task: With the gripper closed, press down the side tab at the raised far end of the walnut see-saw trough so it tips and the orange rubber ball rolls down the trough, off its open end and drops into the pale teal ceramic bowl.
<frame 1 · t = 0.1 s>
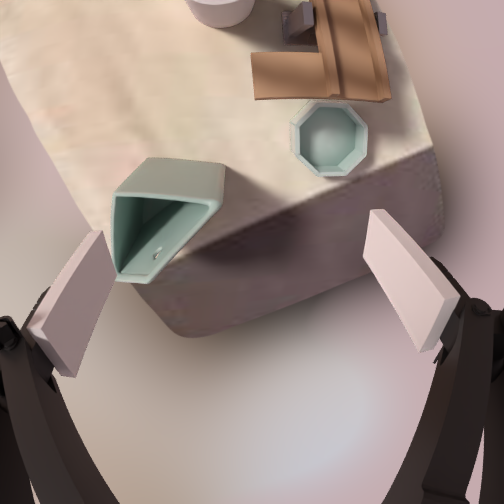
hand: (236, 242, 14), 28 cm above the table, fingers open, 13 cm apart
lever: (313, 12, 21), point 9 cm above the table, hinge at -18.0°, touching ball
planter: (164, 178, 40), on the table
bowl: (324, 135, 38), on the table
pale pink cylinder: (222, 2, 27), on the table
fulcrum: (321, 30, 29), on the table
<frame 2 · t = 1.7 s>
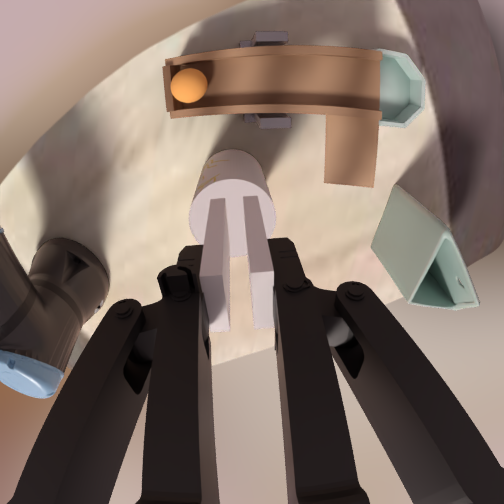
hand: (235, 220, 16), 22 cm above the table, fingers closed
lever: (271, 115, 25), point 9 cm above the table, hinge at -18.0°, touching ball
planter: (390, 235, 44), on the table
ball: (188, 85, 24), point 8 cm above the table, tilted 17°, touching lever
bowl: (380, 86, 31), on the table
pale pink cylinder: (232, 178, 37), on the table
fulcrum: (263, 80, 30), on the table
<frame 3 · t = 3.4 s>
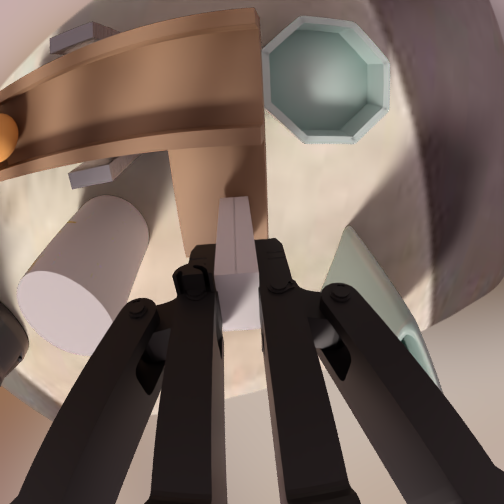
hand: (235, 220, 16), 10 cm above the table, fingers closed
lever: (88, 163, 14), point 9 cm above the table, hinge at -11.6°, touching ball, gripper
planter: (344, 290, 34), on the table
bowl: (316, 79, 21), on the table
pale pink cylinder: (111, 232, 27), on the table
fulcrum: (129, 95, 20), on the table
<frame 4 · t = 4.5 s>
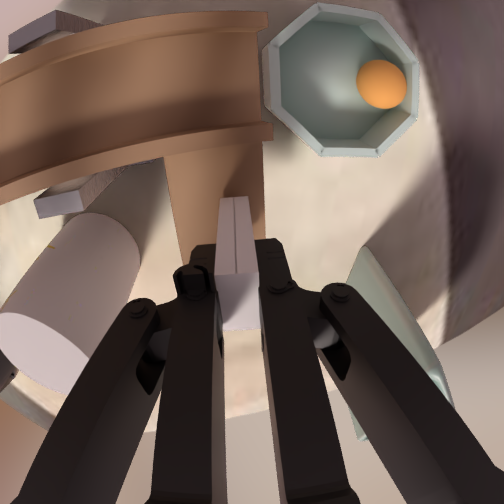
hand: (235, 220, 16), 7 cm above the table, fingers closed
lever: (64, 185, 11), point 9 cm above the table, hinge at 16.4°, touching gripper
planter: (355, 313, 30), on the table
ball: (381, 84, 15), point 2 cm above the table, tilted 169°, touching bowl
bowl: (333, 79, 17), on the table
pale pink cylinder: (99, 252, 24), on the table
fulcrum: (113, 98, 17), on the table
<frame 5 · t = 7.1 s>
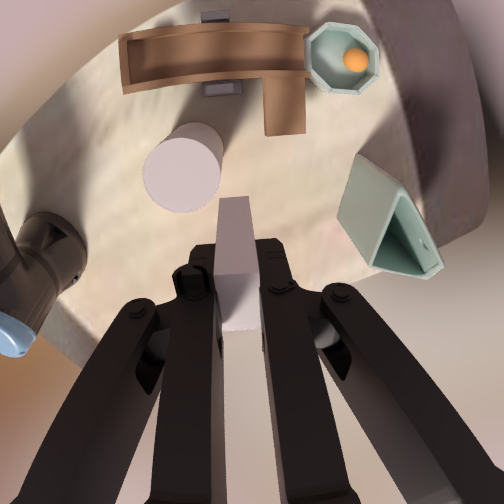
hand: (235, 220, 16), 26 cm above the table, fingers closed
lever: (222, 82, 26), point 9 cm above the table, hinge at 16.4°
planter: (356, 206, 45), on the table
ball: (355, 60, 30), point 2 cm above the table, tilted 151°, touching bowl
bowl: (335, 59, 32), on the table
pale pink cylinder: (194, 150, 39), on the table
fulcrum: (220, 59, 32), on the table
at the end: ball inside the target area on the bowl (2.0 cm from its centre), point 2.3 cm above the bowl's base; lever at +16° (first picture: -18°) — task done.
